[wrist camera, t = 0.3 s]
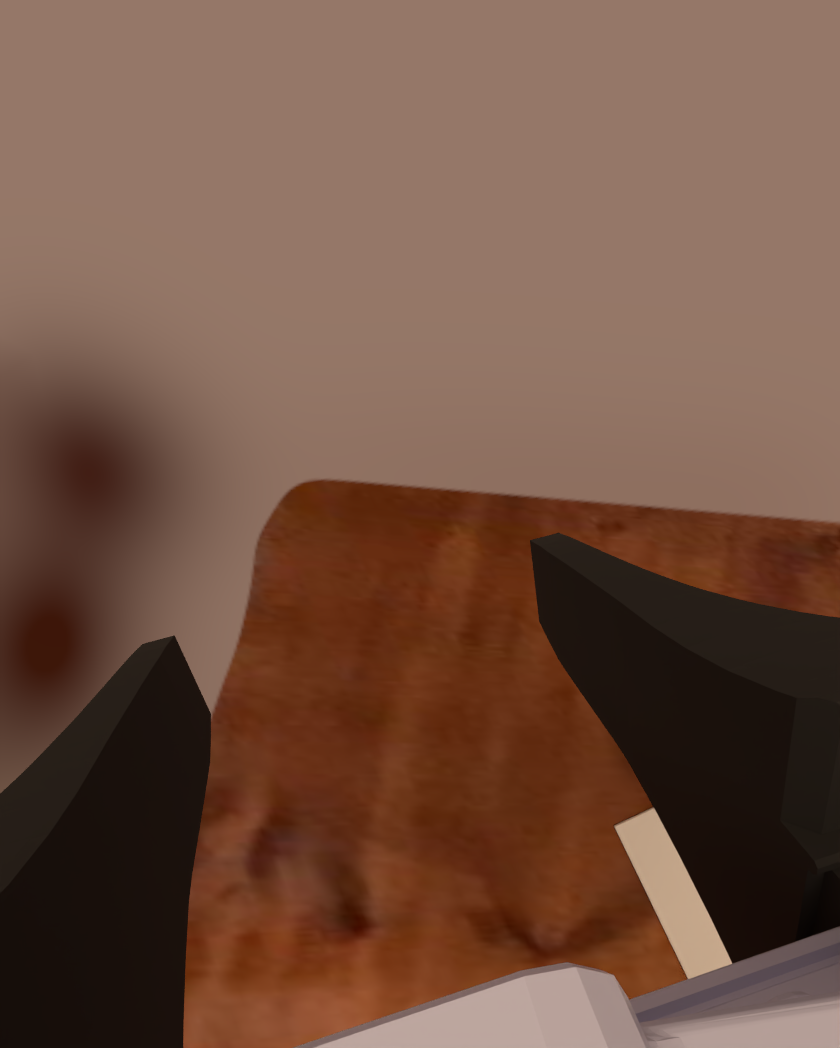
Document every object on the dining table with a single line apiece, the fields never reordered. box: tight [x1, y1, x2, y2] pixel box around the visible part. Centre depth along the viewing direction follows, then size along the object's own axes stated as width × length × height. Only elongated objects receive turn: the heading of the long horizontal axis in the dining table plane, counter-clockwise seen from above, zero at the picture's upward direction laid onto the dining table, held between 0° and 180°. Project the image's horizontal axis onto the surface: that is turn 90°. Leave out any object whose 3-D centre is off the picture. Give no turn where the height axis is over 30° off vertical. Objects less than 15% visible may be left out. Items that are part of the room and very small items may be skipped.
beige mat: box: [614, 807, 732, 979], centre depth 36 cm, size 10×14×1 cm
